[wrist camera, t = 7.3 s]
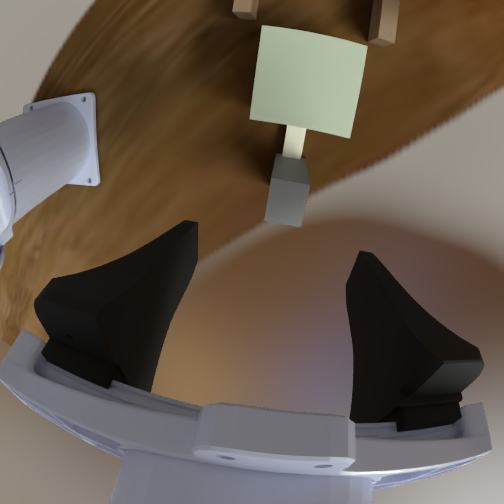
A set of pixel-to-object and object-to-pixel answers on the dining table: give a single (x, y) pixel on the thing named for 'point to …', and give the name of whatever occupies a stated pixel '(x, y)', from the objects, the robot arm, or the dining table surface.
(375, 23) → the frame
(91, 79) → the dining table surface
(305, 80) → the sage block
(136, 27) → the dining table surface
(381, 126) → the dining table surface
